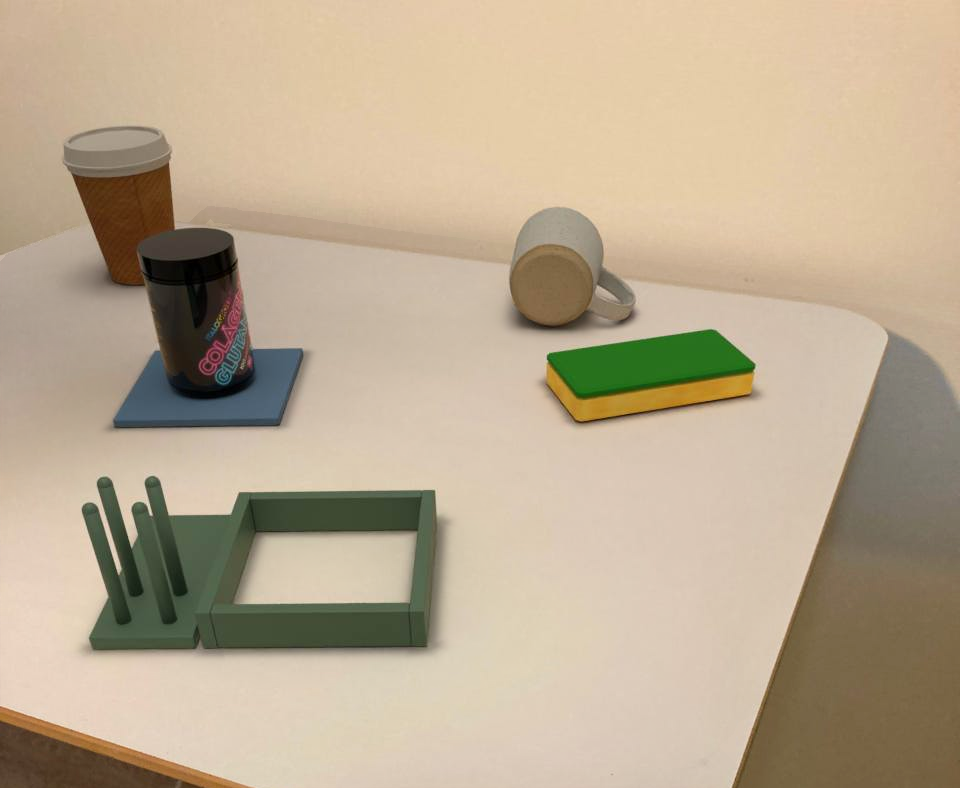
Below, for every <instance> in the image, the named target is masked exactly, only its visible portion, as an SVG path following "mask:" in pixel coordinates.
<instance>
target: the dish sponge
mask: <svg viewBox="0 0 960 788" xmlns="http://www.w3.org/2000/svg"><path fill="white" fill-rule="evenodd" d="M546 361H547V362H546V374H545V375H546V380H545V382H546V384H547V385H548V386H549V387H550V389H551V390H552V391H553V393H554V394H555V395H556V397H557V398H558V399H559V400H560V402H561V403H562V404H563V405H564V407H565V408H566V410H568V412H569V414H571V416H572V417H573V418H574V420H575V421H577V422H586V421H593V420H599V419H605V418H611V417H617V416H624V415H628V414H629V415H630V414H635V413H641V412H649V411H654V410H660V409H667V408H671V407H672V408H673V407H678V406H685V405H690V404H697V403H704V402H709V401H714V400H722V399H728V398H732V397H733V398H734V397H740V396H746V395H751V393H752V391H753V385H754V380H755V379H754V378H755V369H756V365H757V364H756V363H755V362H754V361H753V360H752V359H750V358H749V356H747V355H746V354H745V353H744V352H742V351H741V350H740V349H739V348H738V347H736V346H735V345H734V344H733V343H731V341H729V340H728V339H727V338H726V337H725V336H723V335H722V334H721V333H720V332H719V331H718V330H717V329H714V328H713V329H712V328H709V329H703V330H702V329H701V330H695V331H689V332H682V333H681V332H680V333H674V334H669V335H662V336H654V337H647V338H641V339H634V340H627V341H621V342H614V343H608V344H600V345H594V346H587V347H581V348H580V347H579V348H573V349H566V350H561V351H553V352H549V353H547V354H546Z"/></svg>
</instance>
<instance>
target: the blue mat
mask: <svg viewBox="0 0 960 788" xmlns="http://www.w3.org/2000/svg"><path fill="white" fill-rule="evenodd" d="M303 349H304V348H303V347H293V348H291V347H289V348H287V347H285V348H280V347H279V348H252V350H253V356H254V361H255V367H256V371H255V375H254V378H253V379H252V381H251V382H250V384H249V385H248V386H246V387H245V388H244V389H242V390H240V391H238V392H236V393H233V394H230V395H227V396H223V397H217V398H206V399H202V398H191V397H187V396H184V395H181V394H179V393H178V392H176V391H175V390H174V389H173V388H172V387H171V386H170V384H169V383H168V381H167V377H166V372H165V368H164V364H163V360H162V355H161V351H160V349H158V350H154V352H153V353H152V355H151V356H150V358H149V360H148V362H147V363H146V365H145V367H144V368H143V369H142V371H141V373H140V375H139V377H138V378H137V380H136V381H135V383H134V385H133V386H132V387H131V389H130V391H129V393H128V394H127V396H126V398H125V399H124V401H123V403H122V405H121V406H120V407H119V409H118V411H117V413H116V415H115V416H114V418H113V419H112V422H113V426H114V428H164V427H165V428H169V427H170V428H171V427H239V426H240V427H243V426H245V427H246V426H248V427H249V426H279V425H280V424H281V421H282V418H283V416H284V415H283V414H284V412H285V409H286V406H287V403H288V401H289V397H290V394H291V391H292V388H293V386H294V382H295V380H296V377H297V374H298V371H299V369H300V366H301V362H302V359H303V356H304V350H303Z"/></svg>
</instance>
